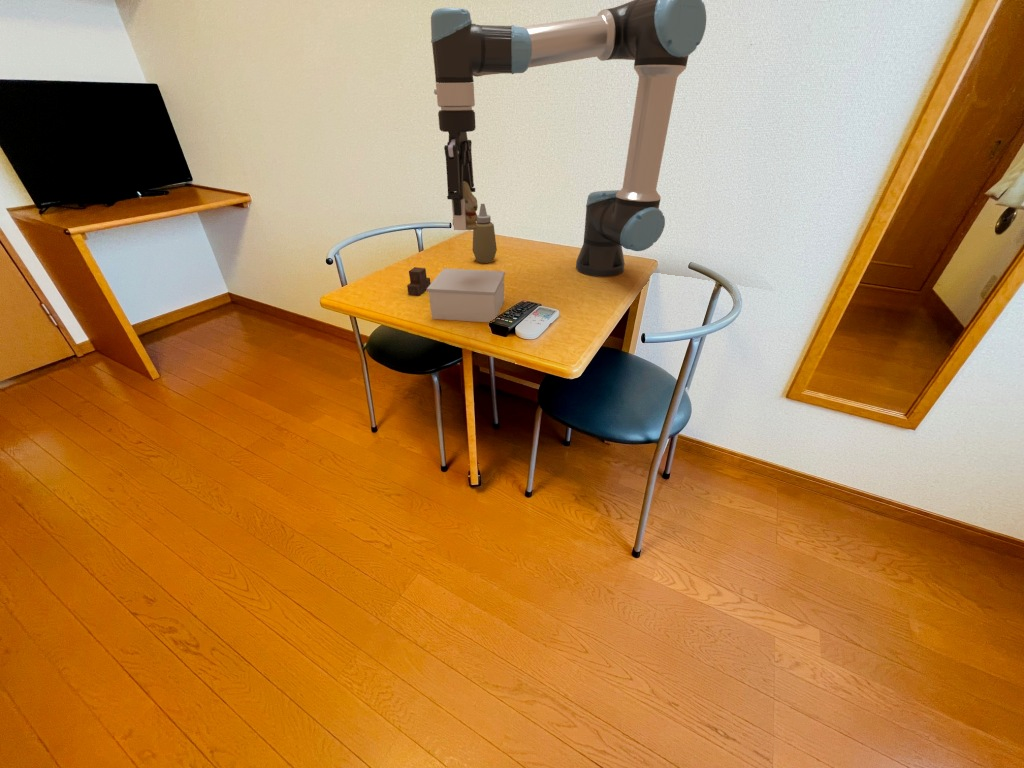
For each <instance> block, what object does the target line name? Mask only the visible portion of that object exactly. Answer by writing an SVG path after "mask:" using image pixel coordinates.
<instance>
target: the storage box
mask: <svg viewBox="0 0 1024 768" xmlns="http://www.w3.org/2000/svg"><path fill="white" fill-rule="evenodd" d="M505 275H506V270H489V269H488V270H486V269H465V268H464V269H463V268H447V267H446V268H443V269H441V271H440V272H439V274H438V275H437V276H436V277H435V278H434V279H433V280H432V282H430V283H431V284H430V285H429V287H428V288H427V291H426V292H427V293H428V297H429V304H430V305H429V306H430V312H431V319H433V320H447V321H461V322H463V321H464V322H476V323H477V322H478V323H479V322H481V323H491V322H490V321H491V320H493V319H495V318H496V317H497V318H498V316H499V313H500V311H501V310H502V306H503V304H504V301H505ZM497 315H498V316H497ZM497 318H496V319H497Z"/></svg>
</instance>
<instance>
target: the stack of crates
mask: <svg viewBox="0 0 1024 768" xmlns="http://www.w3.org/2000/svg"><path fill="white" fill-rule="evenodd" d="M408 275H409V282H410V283H408V284H406V288H407V292H408V293H407V294H408V296H417V297H420V296H422V295H423V294H424V293H425V292H427V291H426V290H427V288H428V287H429V285H430V284H431V283H432V282H431V277H427V269H426V267H416V266H415V267H413V268H411V269H410V270H408ZM421 294H422V295H421Z"/></svg>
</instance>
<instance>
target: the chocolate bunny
mask: <svg viewBox="0 0 1024 768" xmlns="http://www.w3.org/2000/svg"><path fill="white" fill-rule="evenodd" d="M463 199H464V200H465V216H466V230H465V231H473V230H474V229H476V228H477V225H476V221H477V215H478V214H477V211H478V200H477V197H476V196H475V195H474V194H473V192H471V190H470V187H469V185H468V183H467V182H465V181H463ZM452 226H453V227H454V224H453V223H452Z"/></svg>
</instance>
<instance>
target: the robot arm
mask: <svg viewBox="0 0 1024 768" xmlns="http://www.w3.org/2000/svg"><path fill="white" fill-rule="evenodd" d="M706 26H707V10H706V6H705V3H704V1H703V0H632V1H628V2H626V3H623V4H621V5H618V6H615V7H611V8H605V9H601V10H600V11H599V12H597V15H596V16H595V15H594V16H589V17H583V18H580V17H579V18H576V19H575V18H574V19H568V20H567V19H566V20H560V21H559V20H558V21H554V22H553V21H552V22H546V23H539V24H532V25H524V26H516V25H514V24H511V25H490V24H489V25H487V24H483V25H482V24H476V23H473V20H472V19H471V13H470V11H469V10H467V9H465V8H460V7H442V8H440V7H439V8H436V9H434V10H433V12H431V15H430V30H431V35H430V36H431V41H430V42H431V49H432V56H433V65H434V75H435V88H434V91H433V93H434V95H435V96H436V100H437V101H436V103H437V106H438V107H439V108H440V110H438V112H437V114H438V127H439V130H440V131H441V132H443V133H444V132H446V133H448V141H447V144H446V145H445V144H444V147H443V149H444V155H445V166H446V167H445V168H446V182H447V183H446V184H447V196H446V198H447V200H451V209H452V225H453V224H454V226H453V230H454V231H467V230H466V216H465V200H464V199H463V181H465V182H467V183H468V185H469V187H470V190H471V192H472V193H475V192H476V187H475V183H474V169H473V156H472V155H473V154H472V144H473V143H472V140H471V139H468V133H467V132H474V131H475V130H476V127H477V126H476V111H475V110H474V109H473V107H474V106H475V101H476V100H475V84H474V77H482V76H487V75H488V76H489V75H499V74H511V75H514V74H524V73H525V72H526V71H528V69H529V68H535V67H541V66H548V65H553V64H560V63H566V62H572V61H578V60H583V59H591V58H597V59H598V60H599V61H601V62H605V61H611V60H625V61H626V60H629V61H634V62H633V63H634V64H633V70H634V71H635V72H636V74H637V76H638V83H637V89H636V96H635V102H634V110H633V116H632V121H631V122H632V123H631V129H630V136H629V141H628V142H629V143H628V148H627V149H628V150H627V156H626V162H625V168H624V177H623V181H622V182H623V183H622V188H621V189H620V190H619V189H618V190H613V189H612V190H611V189H610V190H599V191H593V192H590V193H589V195H587V200H586V205H585V208H586V209H585V221H584V222H585V223H584V231H583V232H584V234H583V243H582V246H581V249H580V251H579V254H578V255H577V258H576V262H575V263H576V264H575V269H576V271H578V272H579V273H581V274H583V275H586V276H593V277H603V278H604V277H605V278H606V277H614V276H618V275H621V274H623V272H624V271H625V263H626V262H625V258H624V257H625V256H624V252H623V248H624V249H626V250H630V251H634V252H643V251H646V250H648V249H650V248H651V247H653V245H654V243H656V242H658V241H659V239H661V238H660V237H661V236H662V234H663V233H664V232H663V231H664V229H665V225H666V217H665V215H664V213H663V212H662V210H660V202H661V200H662V199H661V198H662V197H661V195H660V194H659V193H658V191H657V188H658V181H659V176H660V171H661V170H660V169H661V165H662V161H663V160H662V159H663V155H664V152H665V151H664V149H665V145H666V140H667V136H668V129H669V123H670V120H671V119H670V118H671V114H672V108H673V107H672V106H673V103H674V97H675V91H676V87H677V82H678V81H677V80H678V79H679V78H678V77H679V76H681V74H682V73H683V72H684V71H686V69H687V65H688V60H689V55H691V54H692V53H693V52H694V51H696V50H697V47H698V46H699V45H701V42H702V40H703V38H704V34H705V31H706V28H707V27H706Z"/></svg>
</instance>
